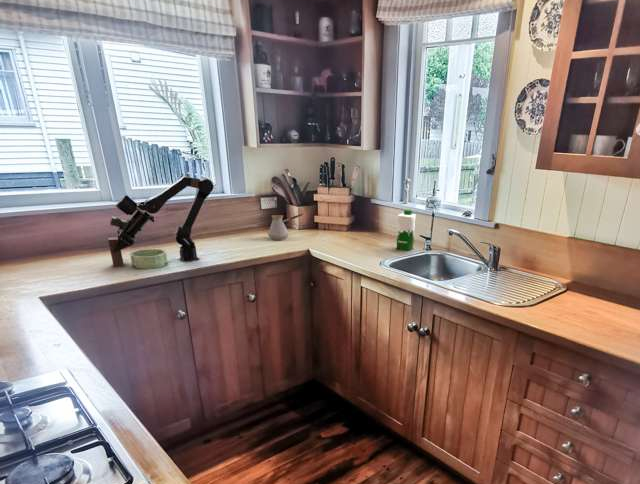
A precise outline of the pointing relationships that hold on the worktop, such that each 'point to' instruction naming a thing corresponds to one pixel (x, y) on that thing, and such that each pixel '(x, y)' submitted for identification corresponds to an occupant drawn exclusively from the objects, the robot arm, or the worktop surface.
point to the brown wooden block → (117, 255)
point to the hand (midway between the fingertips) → (113, 249)
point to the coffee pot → (279, 227)
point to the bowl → (148, 258)
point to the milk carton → (405, 230)
